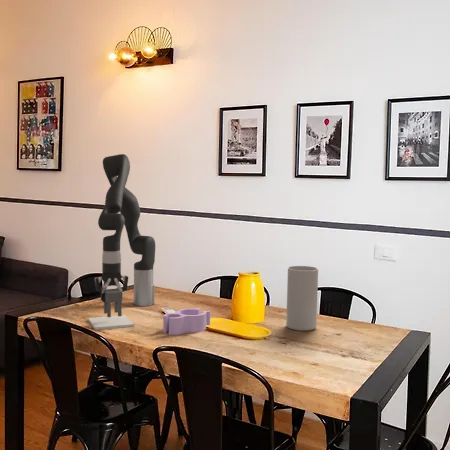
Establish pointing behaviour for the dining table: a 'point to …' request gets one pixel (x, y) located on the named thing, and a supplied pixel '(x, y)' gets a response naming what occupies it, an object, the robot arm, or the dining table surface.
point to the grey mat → (110, 322)
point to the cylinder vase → (302, 298)
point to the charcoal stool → (111, 297)
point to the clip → (186, 321)
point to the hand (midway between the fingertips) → (111, 301)
